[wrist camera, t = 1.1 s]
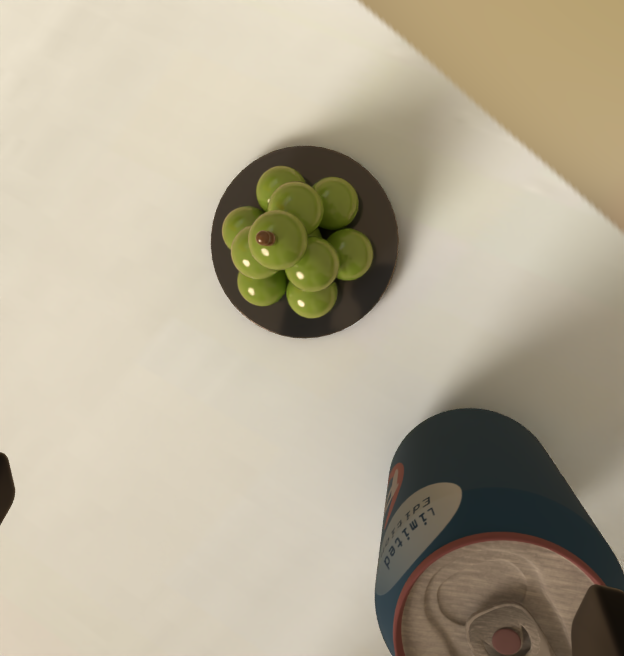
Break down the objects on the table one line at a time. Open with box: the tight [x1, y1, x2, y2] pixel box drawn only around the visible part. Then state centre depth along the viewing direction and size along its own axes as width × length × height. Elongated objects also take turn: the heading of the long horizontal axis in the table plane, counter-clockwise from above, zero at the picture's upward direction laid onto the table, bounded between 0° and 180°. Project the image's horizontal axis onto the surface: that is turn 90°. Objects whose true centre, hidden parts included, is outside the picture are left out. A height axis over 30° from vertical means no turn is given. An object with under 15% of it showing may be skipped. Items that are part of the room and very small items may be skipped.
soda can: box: [375, 408, 624, 656], centre depth 21 cm, size 7×7×12 cm
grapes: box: [211, 146, 399, 338], centre depth 23 cm, size 8×8×8 cm
